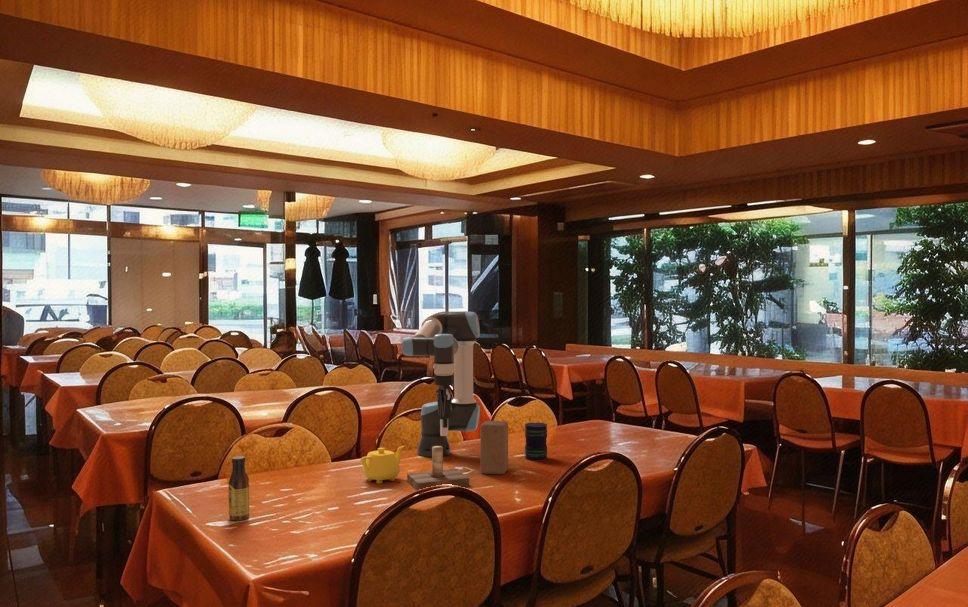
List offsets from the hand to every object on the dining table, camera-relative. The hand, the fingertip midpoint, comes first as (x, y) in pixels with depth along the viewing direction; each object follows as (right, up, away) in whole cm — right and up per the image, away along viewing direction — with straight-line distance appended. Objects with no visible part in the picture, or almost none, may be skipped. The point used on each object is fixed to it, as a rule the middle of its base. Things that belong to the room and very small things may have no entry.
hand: (444, 435), depth 265 cm
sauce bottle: (-64, -19, -44) cm, 79 cm away
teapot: (-24, -18, +4) cm, 31 cm away
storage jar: (+38, -18, +39) cm, 58 cm away
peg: (-2, -18, -3) cm, 18 cm away
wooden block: (+20, -18, +16) cm, 31 cm away
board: (-2, -18, -2) cm, 18 cm away
